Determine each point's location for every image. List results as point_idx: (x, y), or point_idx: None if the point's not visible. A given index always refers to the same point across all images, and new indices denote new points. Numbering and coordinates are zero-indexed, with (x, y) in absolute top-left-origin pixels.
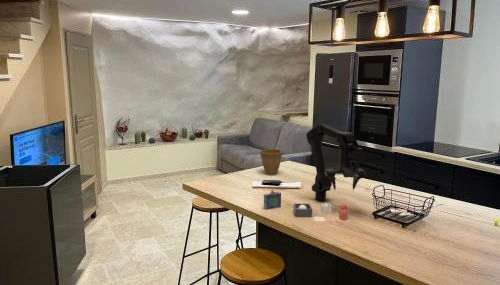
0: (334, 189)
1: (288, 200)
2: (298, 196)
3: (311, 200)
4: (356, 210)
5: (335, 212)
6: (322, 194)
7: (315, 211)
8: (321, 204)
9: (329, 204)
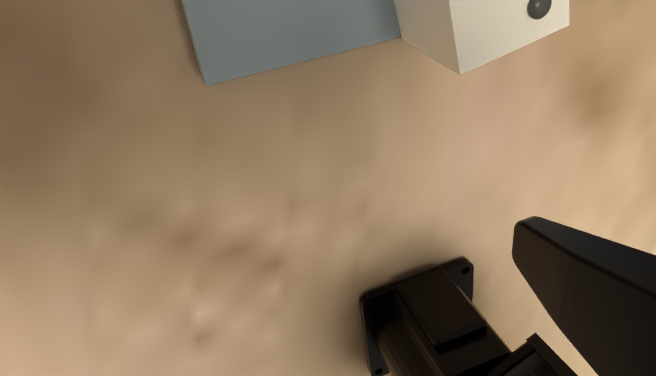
0: (541, 220)
1: (649, 250)
2: (556, 349)
3: (483, 313)
4: (17, 215)
5: (299, 74)
6: (462, 347)
7: (515, 51)
8: (562, 7)
9: (464, 9)
